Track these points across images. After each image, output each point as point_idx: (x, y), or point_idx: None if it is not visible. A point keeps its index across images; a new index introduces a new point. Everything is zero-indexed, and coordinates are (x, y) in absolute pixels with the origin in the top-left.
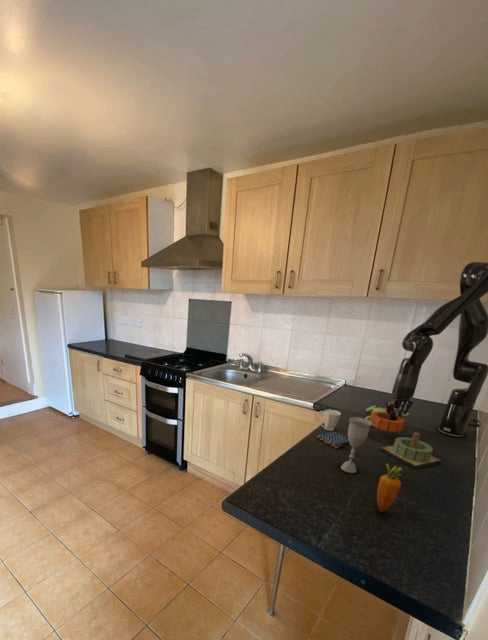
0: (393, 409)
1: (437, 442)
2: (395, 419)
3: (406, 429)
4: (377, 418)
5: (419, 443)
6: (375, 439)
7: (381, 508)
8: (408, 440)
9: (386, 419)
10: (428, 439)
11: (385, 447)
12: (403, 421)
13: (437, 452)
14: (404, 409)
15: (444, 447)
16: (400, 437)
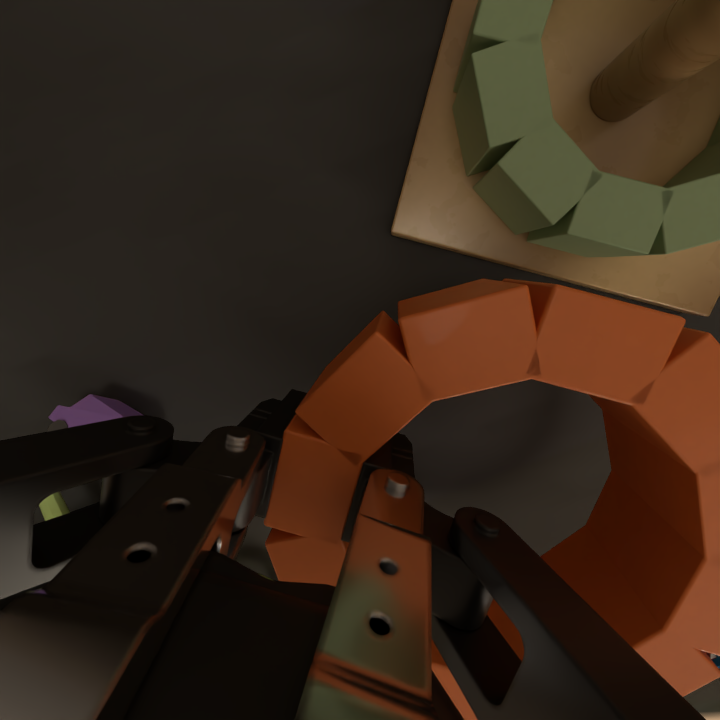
0: (596, 653)
1: (12, 108)
2: (384, 446)
3: (10, 378)
4: None
5: (546, 17)
6: (464, 432)
7: None
8: (567, 145)
9: (706, 512)
10: (28, 184)
11: (673, 295)
12: (526, 299)
13: (239, 3)
14: (200, 493)
15: (59, 17)
16: (593, 231)
